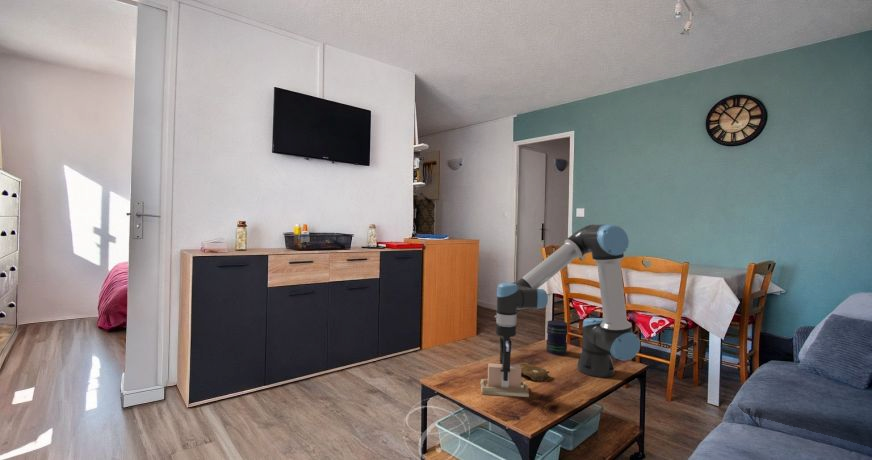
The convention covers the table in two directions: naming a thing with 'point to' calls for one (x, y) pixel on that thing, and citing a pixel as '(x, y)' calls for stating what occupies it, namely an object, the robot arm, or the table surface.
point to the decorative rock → (533, 371)
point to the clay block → (495, 374)
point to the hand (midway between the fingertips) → (504, 385)
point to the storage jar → (556, 337)
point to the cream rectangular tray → (504, 390)
